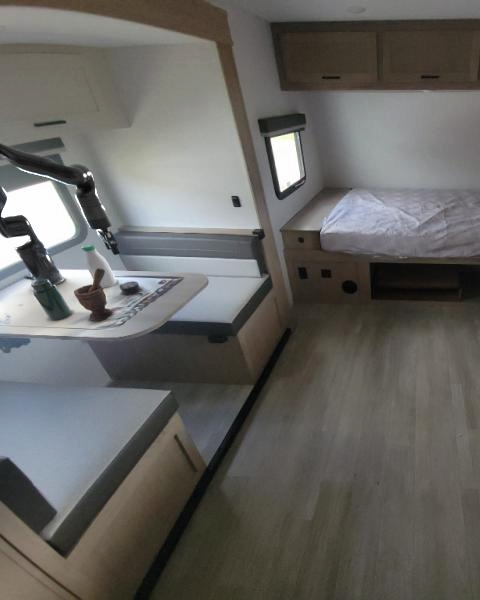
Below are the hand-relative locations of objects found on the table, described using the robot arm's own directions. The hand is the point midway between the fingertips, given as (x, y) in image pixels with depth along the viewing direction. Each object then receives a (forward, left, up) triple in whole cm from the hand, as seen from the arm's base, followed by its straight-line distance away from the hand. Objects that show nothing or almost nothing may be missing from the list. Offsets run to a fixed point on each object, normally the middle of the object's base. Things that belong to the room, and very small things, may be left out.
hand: (113, 251), depth 147 cm
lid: (+1, -1, -20) cm, 20 cm away
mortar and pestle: (+7, -19, -20) cm, 28 cm away
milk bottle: (-16, +2, -20) cm, 26 cm away
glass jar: (-9, -24, -20) cm, 33 cm away
